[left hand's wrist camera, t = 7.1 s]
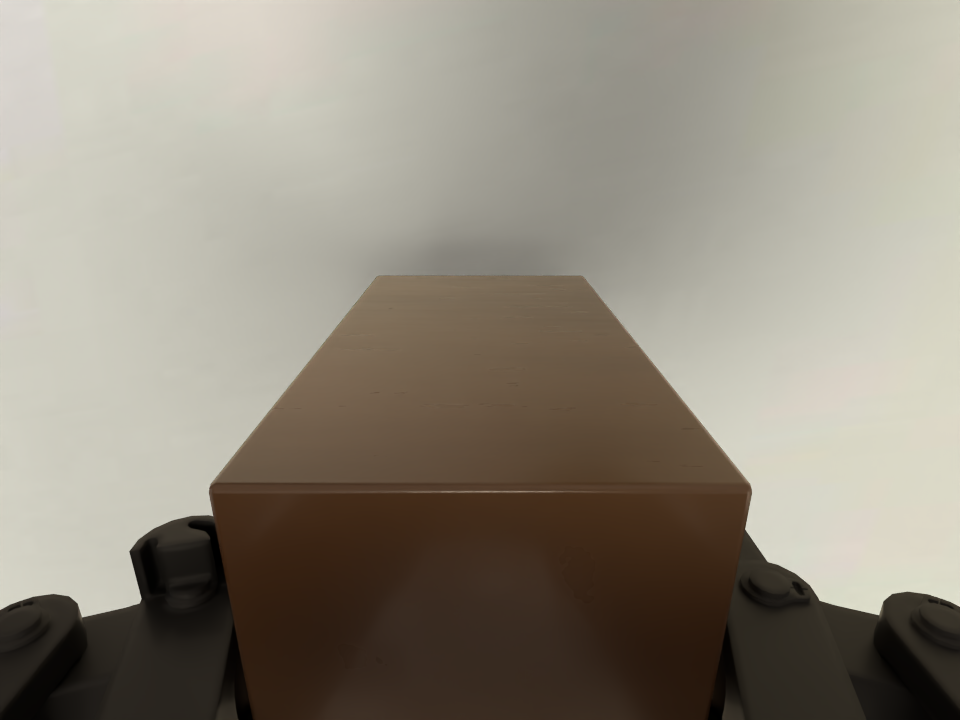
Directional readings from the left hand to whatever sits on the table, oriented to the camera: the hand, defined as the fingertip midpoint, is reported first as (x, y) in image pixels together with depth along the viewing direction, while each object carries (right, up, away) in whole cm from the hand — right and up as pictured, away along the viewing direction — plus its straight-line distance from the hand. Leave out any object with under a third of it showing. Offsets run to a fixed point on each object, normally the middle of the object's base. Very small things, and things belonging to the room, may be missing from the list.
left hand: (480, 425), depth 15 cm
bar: (0, -9, +4) cm, 10 cm away
